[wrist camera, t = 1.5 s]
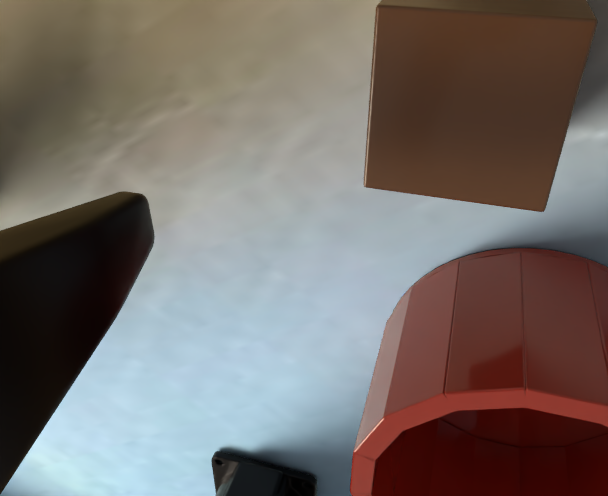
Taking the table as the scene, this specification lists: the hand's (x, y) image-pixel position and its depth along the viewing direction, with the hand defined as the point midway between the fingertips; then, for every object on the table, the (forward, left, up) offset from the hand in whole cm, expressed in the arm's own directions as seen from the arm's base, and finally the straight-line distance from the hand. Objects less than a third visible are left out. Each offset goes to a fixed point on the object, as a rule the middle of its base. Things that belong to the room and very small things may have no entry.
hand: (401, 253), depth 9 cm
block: (0, -1, -12) cm, 12 cm away
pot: (-13, -5, -12) cm, 18 cm away
